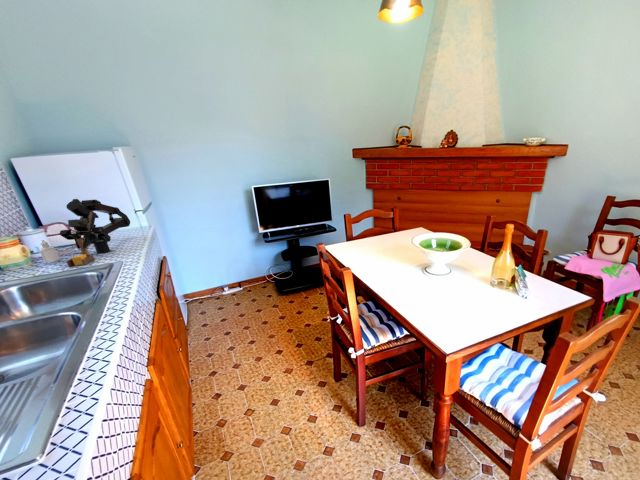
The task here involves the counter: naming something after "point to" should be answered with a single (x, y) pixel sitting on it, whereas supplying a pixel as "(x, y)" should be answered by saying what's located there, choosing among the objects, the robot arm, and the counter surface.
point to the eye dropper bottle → (48, 253)
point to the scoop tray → (84, 251)
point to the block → (78, 259)
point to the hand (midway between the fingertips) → (81, 248)
